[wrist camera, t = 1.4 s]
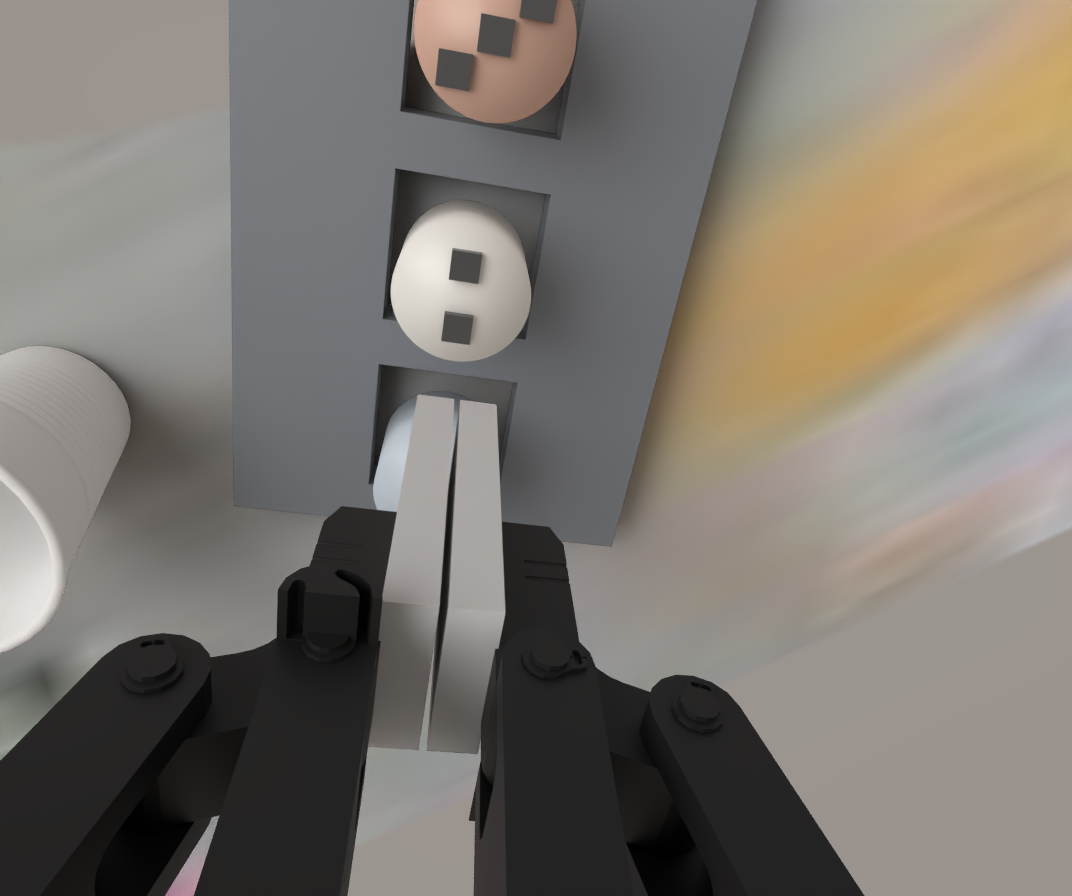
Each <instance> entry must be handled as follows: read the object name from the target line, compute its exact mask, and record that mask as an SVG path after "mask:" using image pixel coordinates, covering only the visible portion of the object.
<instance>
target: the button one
mask: <svg viewBox="0 0 1072 896" xmlns="http://www.w3.org/2000/svg"><path fill="white" fill-rule="evenodd" d="M420 395H427V396H435V397H443V398H450V399H454V413H453V427H452V440H451V454H450V468H449V477H450V470H451V463H452V456H453V449H454V442H455V435H456V427H457V420H458V413H459V406H460V400H465V401H471V400H469V399H468V398H466V397H463V396H461V395H458V394H455V393H450V392H442V391H436V392H427V393H423V394H420ZM417 396H418V395H417ZM417 396H415V397H412V398H410V399H409V400H407V401H405V402H404V403H403V404H402V405H400V406H399V408H398V409H397V410H396V411H395V412H394V414H393V415H392V416H391V418H390V420H389V423H388V426H387V429H386V433H385V437H384V441H383V446H382V450H381V454H380V458H379V462H378V467H377V471H376V475H375V479H374V485H373V496H374V501H375V505H376V508H377V510H383V511H392V512H397V510H398V504H399V498H400V492H401V487H402V481H403V475H404V470H405V464H406V458H407V453H408V447H409V441H410V435H411V430H412V424H413V418H414V413H415V407H416V401H417ZM448 484H449V482H448Z"/></svg>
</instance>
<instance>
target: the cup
mask: <svg viewBox="0 0 1072 896" xmlns="http://www.w3.org/2000/svg"><path fill="white" fill-rule="evenodd" d="M130 425H131V419H130V413H129V408H128V405H127V403H126V400H125V398H124V396H123V394H122V392H121V391H120V389H119V388H118V386H117V385H116V383H115V382H114V381H113V380H112V379H111V378H110V377H109V376H108V375H107V374H106V373H105V372H104V371H103V370H102V369H100V368H99V367H98V366H96V365H95V364H94V363H92V362H90V361H89V360H87V359H85V358H84V357H82V356H80V355H77V354H75V353H72V352H70V351H67V350H63V349H59V348H54V347H46V346H31V347H24V348H19V349H17V350H14V351H11V352H8V353H5V354H2V355H0V653H2V652H5V651H8V650H11V649H13V648H15V647H17V646H18V645H20V644H22V643H24V642H26V641H28V640H29V639H31V638H33V637H34V636H35V635H36V634H37V633H38V632H39V631H40V630H42V629H43V628H44V627H45V626H46V625H47V624H48V623H49V622H50V621H51V619H52V617H53V616H54V614H55V613H56V611H57V610H58V608H59V606H60V605H61V602H62V598H63V595H64V592H65V588H66V585H67V573H68V571H69V569H70V567H71V565H72V562H73V560H74V558H75V556H76V553H77V551H78V549H79V547H80V545H81V542H82V540H83V538H84V536H85V532H86V530H87V529H88V526H89V523H90V522H91V520H92V517H93V515H94V513H95V510H96V508H97V506H98V504H99V501H100V500H101V498H102V495H103V493H104V491H105V488H106V486H107V485H108V482H109V480H110V478H111V475H112V473H113V472H114V468H115V467H116V465H117V463H118V461H119V459H120V457H121V454H122V452H123V450H124V448H125V445H126V443H127V441H128V437H129V434H130Z"/></svg>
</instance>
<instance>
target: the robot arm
mask: <svg viewBox="0 0 1072 896" xmlns="http://www.w3.org/2000/svg"><path fill="white" fill-rule="evenodd" d="M453 413H454V399H450V398H443V397H435V396H427V395H420V394H418V396H417V401H416V407H415V413H414V418H413V424H412V430H411V435H410V441H409V447H408V453H407V458H406V464H405V470H404V475H403V481H402V487H401V492H400V498H399V504H398V510H397V512H392V511H383V510H374V509H365V508H356V507H346V506H341V507H340V508H339V509H338V510H336V511H335V512H334V513H333V514H332V515H331V516H330V517H328V518H327V519H326V520H325V521H324V523H323V526H322V529H321V532H320V536H319V539H318V544H317V545H316V548H315V551H314V554H313V559H312V560H311V564H310V566H309V567H305V568H301V569H299V570H298V571H296V572H295V573H293V574H291V575H290V576H288V577H287V578H286V579H285V580H284V582H283V583H282V584H281V586H280V587H279V589H278V607H277V638H276V639H274V640H273V641H271V642H269V643H268V644H266V645H263V646H261V647H258V648H256V649H254V650H250V651H245V652H241V653H237V654H230V655H223V656H217V657H210V655H209V653H208V652H207V651H206V650H205V648H204V647H203V646H202V645H201V644H200V643H199V642H197V641H195V640H192V639H190V638H188V637H186V636H183V635H174V634H165V633H161V634H154V635H147V636H140V637H138V638H135V639H133V640H130V641H128V642H125V643H123V644H120V645H118V646H117V647H116V648H114V649H113V650H112V651H110V652H109V653H107V654H106V655H105V656H103V657H102V658H101V659H100V660H99V661H98V662H97V663H96V664H95V665H94V666H93V667H92V668H91V669H90V670H89V671H88V672H87V673H86V674H85V675H84V676H83V677H82V678H81V679H80V680H79V681H78V683H77V684H76V685H75V686H74V687H73V688H72V689H71V690H70V691H69V692H68V693H67V694H66V695H65V696H64V697H63V698H62V699H61V700H60V701H59V702H58V703H57V704H56V705H55V706H54V707H53V708H52V709H51V710H50V711H49V712H48V713H47V714H46V715H45V716H44V717H43V718H42V719H41V720H40V721H39V722H38V723H37V724H36V725H35V726H34V727H33V728H32V729H31V730H30V731H29V732H28V733H27V734H26V735H25V736H24V737H23V738H22V739H21V740H20V741H19V742H18V743H17V744H16V746H15V747H14V748H13V749H12V750H11V751H10V752H9V753H8V754H7V755H6V756H5V757H4V758H3V759H2V760H1V761H0V896H165V894H166V893H167V891H168V890H169V888H170V886H171V885H172V883H173V882H174V880H175V878H176V877H177V875H178V874H179V872H180V870H181V869H182V867H183V866H184V864H185V862H186V861H187V859H188V858H189V856H190V854H191V853H192V851H193V849H194V848H195V846H196V845H197V843H198V841H199V840H200V838H201V837H202V835H203V833H204V832H205V830H206V829H207V827H208V825H209V823H210V820H211V818H212V817H214V816H218V815H220V816H219V819H218V822H217V826H216V829H215V832H214V835H213V838H212V841H211V844H210V847H209V850H208V853H207V857H206V860H205V863H204V866H203V869H202V872H201V875H200V878H199V881H198V884H197V888H196V891H195V894H194V896H347V894H348V887H349V880H350V873H351V867H352V860H353V852H354V846H355V839H356V832H357V825H358V818H359V811H360V805H361V798H362V791H363V784H364V776H365V766H366V757H367V750H368V747H381V748H396V749H411V750H419V743H420V736H421V729H422V723H423V716H424V709H425V702H426V695H427V688H428V682H429V675H430V668H431V661H432V654H433V647H434V641H435V648H434V661H433V674H432V688H431V701H430V714H429V727H428V740H427V751H440V752H455V753H469V754H478V749H479V744H480V739H481V762H480V767H479V772H478V777H477V782H476V787H475V792H474V797H473V802H472V807H471V812H470V817H469V821H475V856H474V896H864V895H863V893H862V891H861V890H860V888H859V887H858V885H857V884H856V882H855V881H854V879H853V878H852V876H851V875H850V873H849V872H848V870H847V869H846V867H845V866H844V864H843V863H842V861H841V859H840V858H839V857H838V855H837V854H836V852H835V850H834V849H833V848H832V846H831V844H830V843H829V841H828V840H827V838H826V837H825V835H824V834H823V832H822V831H821V829H820V828H819V826H818V825H817V823H816V822H815V820H814V818H813V817H812V815H811V814H810V813H809V811H808V810H807V808H806V806H805V805H804V803H803V802H802V800H801V799H800V797H799V796H798V794H797V793H796V791H795V790H794V788H793V787H792V785H791V784H790V782H789V781H788V779H787V778H786V776H785V774H784V773H783V771H782V770H781V768H780V767H779V765H778V764H777V762H776V761H775V759H774V758H773V756H772V755H771V753H770V752H769V750H768V749H767V747H766V746H765V744H764V743H763V741H762V740H761V738H760V737H759V735H758V733H757V732H756V730H755V729H754V728H753V726H752V725H751V723H750V721H749V720H748V718H747V717H746V715H745V714H744V712H743V711H742V709H741V708H740V706H739V705H738V704H737V703H736V702H735V701H734V700H733V698H732V697H731V696H730V695H729V694H728V693H727V692H726V691H724V690H723V689H721V688H719V687H718V686H716V685H715V684H713V683H712V682H709V681H706V680H704V679H701V678H698V677H695V676H686V675H674V676H670V677H667V678H664V679H661V680H660V681H659V682H658V683H657V684H656V685H655V686H654V687H653V688H652V690H651V692H648V691H645V690H642V689H640V688H637V687H634V686H631V685H628V684H625V683H622V682H620V681H618V680H615V679H613V678H611V677H609V676H608V675H606V674H604V673H603V672H601V671H600V670H598V669H597V668H596V667H595V664H594V662H593V659H592V657H591V655H590V652H589V651H588V650H587V649H586V648H585V647H584V646H583V645H582V644H581V643H580V642H579V638H578V632H577V626H576V620H575V613H574V607H573V601H572V595H571V589H570V584H569V576H568V570H567V568H566V558H565V552H564V545H563V544H562V542H561V541H560V540H559V539H558V537H557V536H556V535H555V533H554V532H553V531H552V530H551V528H550V527H547V526H537V525H528V524H519V523H510V522H502V520H501V497H500V473H499V450H498V426H497V405H496V404H488V403H481V402H473V401H465V400H460V406H459V413H458V420H457V427H456V435H455V442H454V449H453V456H452V463H451V470H450V477H449V468H450V454H451V440H452V427H453ZM448 482H449V484H448ZM435 634H436V635H435Z"/></svg>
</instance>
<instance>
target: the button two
mask: <svg viewBox="0 0 1072 896" xmlns="http://www.w3.org/2000/svg"><path fill="white" fill-rule="evenodd" d="M391 302H392V307H393V311H394V314H395V316H396V319H397V321H398V323H399V325H400V327H401V328H402V330H403V331H404V332H405V334H406V335H407V336H408V337H409V338H410V340H411V341H412V342H413V343H415V344H416V345H417V346H418V347H420V348H421V349H423V350H424V351H426V352H427V353H429V354H431V355H434V356H436V357H439V358H442V359H445V360H450V361H459V362H466V361H475V360H480V359H484V358H487V357H489V356H492V355H494V354H496V353H498V352H499V351H501V350H503V349H504V348H505V347H506V346H508V345H509V344H510V343H511V342H512V341H513V340H514V339H515V338H516V337H517V335H518V334H519V333H520V331H521V330H522V328H523V326H524V324H525V322H526V319H527V317H528V314H529V310H530V304H531V286H530V280H529V275H528V270H527V265H526V260H525V255H524V250H523V246H522V243H521V240H520V238H519V236H518V233H517V232H516V230H515V228H514V227H513V226H512V224H511V223H510V222H509V221H508V220H507V219H506V218H505V217H504V216H503V215H502V214H501V213H499V212H498V211H497V210H495V209H493V208H491V207H490V206H488V205H485V204H482V203H480V202H475V201H470V200H454V201H448V202H444V203H441V204H439V205H437V206H434V207H432V208H431V209H429V210H428V211H426V212H425V213H424V214H423V215H421V216H420V217H419V218H418V219H417V221H416V222H415V223H414V224H413V226H412V227H411V229H410V230H409V233H408V235H407V237H406V239H405V242H404V245H403V248H402V250H401V253H400V256H399V258H398V261H397V264H396V267H395V270H394V273H393V276H392V282H391Z"/></svg>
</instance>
